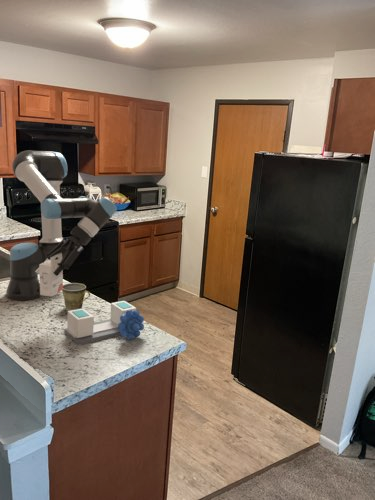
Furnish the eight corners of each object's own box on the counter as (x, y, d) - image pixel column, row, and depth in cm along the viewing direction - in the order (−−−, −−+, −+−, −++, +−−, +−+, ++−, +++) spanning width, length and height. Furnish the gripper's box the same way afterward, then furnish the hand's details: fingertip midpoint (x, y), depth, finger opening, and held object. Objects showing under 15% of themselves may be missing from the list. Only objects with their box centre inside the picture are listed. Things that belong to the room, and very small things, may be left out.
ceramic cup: (56, 310, 178) (56, 287, 176) (71, 302, 187) (71, 281, 185) (82, 316, 174) (82, 293, 171) (96, 308, 183) (96, 287, 180)
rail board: (64, 332, 158) (64, 309, 156) (122, 319, 173) (123, 298, 171) (78, 345, 149) (78, 321, 147) (138, 330, 164) (139, 308, 162)
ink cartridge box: (51, 288, 161) (51, 250, 158) (63, 289, 160) (63, 252, 157) (39, 295, 153) (38, 256, 150) (51, 297, 152) (51, 257, 149)
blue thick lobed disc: (124, 347, 150) (125, 316, 147) (113, 340, 154) (114, 310, 151) (150, 339, 157) (152, 309, 155) (139, 333, 162) (140, 304, 159)
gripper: (103, 244, 154) (61, 292, 147) (78, 232, 170) (39, 275, 163) (90, 230, 149) (46, 279, 143) (66, 220, 165) (25, 263, 159)
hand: (42, 277), depth 153 cm, fingers closed on ink cartridge box, 9 cm apart
